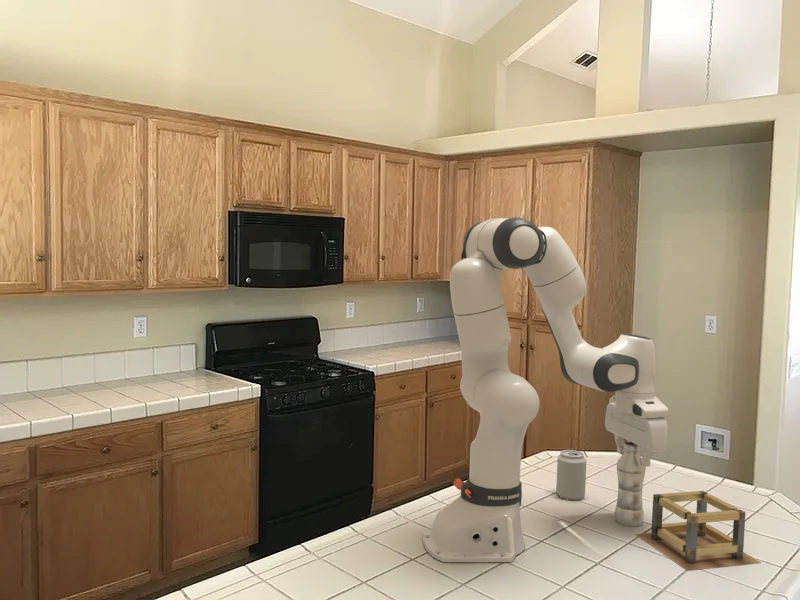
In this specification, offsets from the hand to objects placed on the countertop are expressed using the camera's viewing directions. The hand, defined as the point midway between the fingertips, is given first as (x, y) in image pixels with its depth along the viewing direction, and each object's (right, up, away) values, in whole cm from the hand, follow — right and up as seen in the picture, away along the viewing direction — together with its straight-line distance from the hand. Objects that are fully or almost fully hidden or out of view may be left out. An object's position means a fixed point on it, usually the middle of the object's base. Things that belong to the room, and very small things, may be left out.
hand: (633, 459), depth 158 cm
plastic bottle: (-1, -16, +1) cm, 16 cm away
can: (-10, -15, +20) cm, 27 cm away
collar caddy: (+9, -16, -13) cm, 23 cm away
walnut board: (+9, -17, -13) cm, 23 cm away
